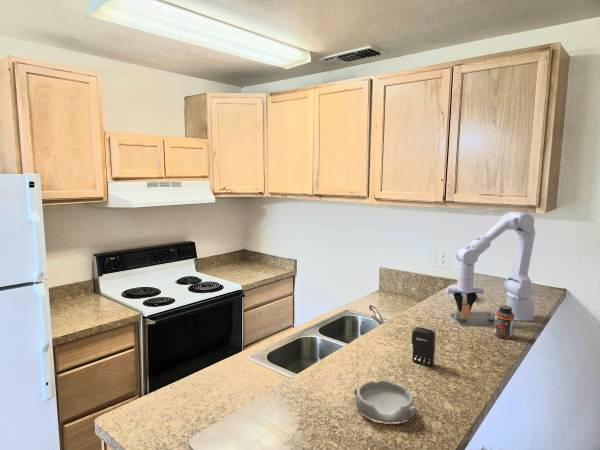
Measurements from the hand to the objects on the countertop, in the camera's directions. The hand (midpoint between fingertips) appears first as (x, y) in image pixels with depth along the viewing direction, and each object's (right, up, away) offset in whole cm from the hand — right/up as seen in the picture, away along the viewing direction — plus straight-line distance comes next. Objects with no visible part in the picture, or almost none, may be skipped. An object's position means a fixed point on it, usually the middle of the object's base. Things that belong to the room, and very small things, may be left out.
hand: (463, 310), depth 155 cm
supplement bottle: (+8, -6, -15) cm, 18 cm away
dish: (-46, -13, -58) cm, 75 cm away
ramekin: (+10, -1, +28) cm, 30 cm away
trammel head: (0, -4, 0) cm, 4 cm away
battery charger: (-28, -9, -35) cm, 45 cm away
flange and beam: (+5, -4, 0) cm, 6 cm away
